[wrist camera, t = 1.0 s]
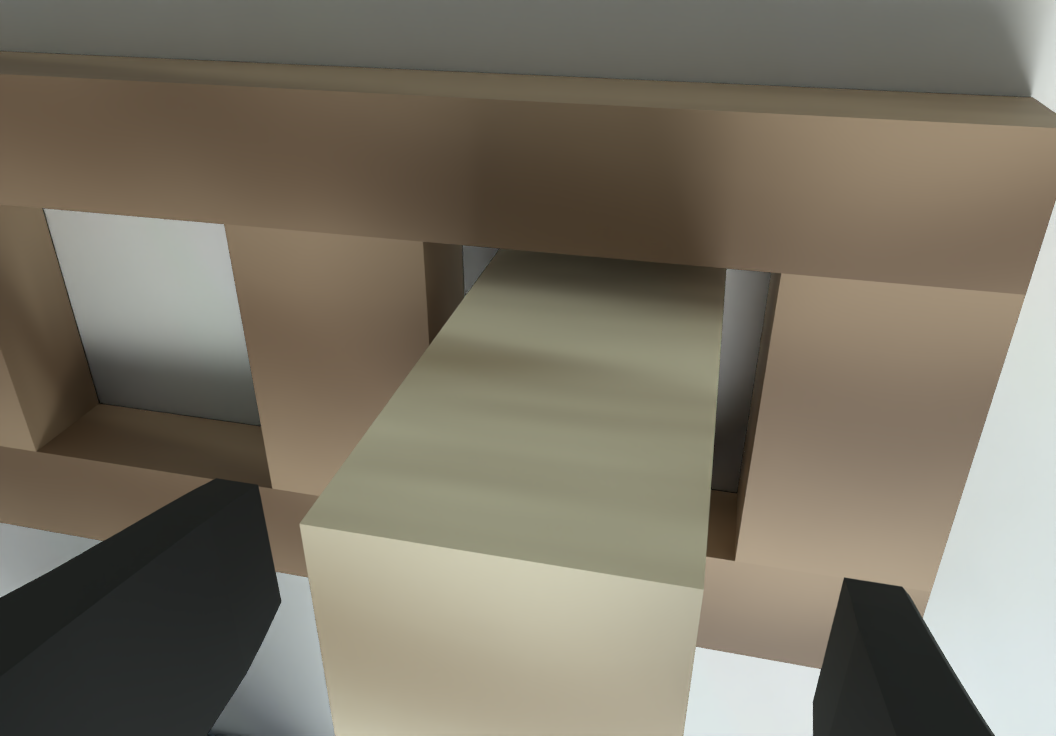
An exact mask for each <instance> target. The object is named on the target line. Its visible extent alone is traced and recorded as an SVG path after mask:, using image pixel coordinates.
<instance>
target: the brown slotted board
mask: <svg viewBox="0 0 1056 736" xmlns="http://www.w3.org/2000/svg"><path fill="white" fill-rule="evenodd" d="M1055 201H1056V113H1054V112H1053V111H1051V110H1050V109H1049V108H1047V107H1046V106H1044V105H1043V104H1041V103H1040V102H1039V101H1037V100H1036V99H1034V98H1033V97H1011V96H989V95H967V94H944V93H922V92H900V91H877V90H855V89H833V88H810V87H788V86H766V85H743V84H721V83H699V82H676V81H654V80H632V79H610V78H587V77H565V76H543V75H520V74H498V73H476V72H453V71H431V70H409V69H386V68H364V67H342V66H319V65H297V64H275V63H253V62H230V61H208V60H186V59H163V58H141V57H119V56H96V55H74V54H52V53H29V52H7V51H0V523H6V524H11V525H17V526H23V527H28V528H34V529H40V530H45V531H51V532H56V533H62V534H68V535H73V536H79V537H84V538H90V539H96V540H101V541H104V540H106V539H108V538H110V537H111V536H113V535H115V534H117V533H118V532H120V531H122V530H124V529H125V528H127V527H129V526H130V525H132V524H134V523H136V522H137V521H139V520H141V519H143V518H144V517H146V516H148V515H150V514H151V513H153V512H155V511H156V510H158V509H160V508H162V507H163V506H165V505H167V504H169V503H170V502H172V501H174V500H176V499H178V498H179V497H181V496H183V495H185V494H187V493H188V492H190V491H192V490H194V489H196V488H198V487H200V486H202V485H204V484H206V483H208V482H210V481H212V480H214V479H216V478H219V479H225V480H231V481H238V482H244V483H250V484H257V485H258V486H259V491H260V496H261V501H262V506H263V511H264V516H265V521H266V526H267V531H268V537H269V542H270V547H271V552H272V557H273V562H274V567H275V572H281V573H286V574H292V575H297V576H303V577H308V572H307V566H306V560H305V554H304V548H303V542H302V536H301V530H300V522H301V521H302V520H303V518H304V517H305V515H306V514H307V513H308V511H309V510H310V509H311V507H312V506H313V504H314V503H315V502H316V500H317V499H318V498H319V496H320V495H321V494H322V492H323V491H324V489H325V488H326V487H327V485H328V484H329V483H330V481H331V480H332V478H333V477H334V476H335V474H336V473H337V472H338V470H339V469H340V467H341V466H342V465H343V463H344V462H345V461H346V459H347V458H348V456H349V455H350V454H351V452H352V451H353V450H354V448H355V447H356V445H357V444H358V443H359V441H360V440H361V439H362V437H363V436H364V434H365V433H366V432H367V430H368V429H369V428H370V426H371V425H372V424H373V422H374V421H375V419H376V418H377V417H378V415H379V414H380V413H381V411H382V410H383V408H384V407H385V406H386V404H387V403H388V402H389V400H390V399H391V397H392V396H393V395H394V393H395V392H396V391H397V389H398V388H399V386H400V385H401V384H402V382H403V381H404V380H405V378H406V377H407V375H408V374H409V373H410V371H411V370H412V369H413V367H414V366H415V364H416V363H417V362H418V360H419V359H420V358H421V356H422V355H423V354H424V352H425V351H426V349H427V348H428V347H429V345H430V344H431V343H432V341H433V340H434V338H435V337H436V336H437V334H438V333H439V332H440V330H441V329H442V327H443V326H444V325H445V323H446V322H447V321H448V319H449V318H450V316H451V315H452V314H453V312H454V311H455V310H456V308H457V307H458V305H459V304H460V303H461V301H462V300H463V299H464V280H463V254H462V245H466V246H477V247H489V248H500V249H511V250H523V251H534V252H545V253H557V254H568V255H579V256H591V257H602V258H613V259H625V260H636V261H647V262H659V263H670V264H681V265H693V266H704V267H715V268H727V269H738V270H749V271H761V272H771V277H770V283H769V290H768V296H767V303H766V309H765V316H764V322H763V328H762V335H761V341H760V348H759V354H758V361H757V367H756V374H755V380H754V387H753V393H752V400H751V406H750V413H749V419H748V425H747V432H746V438H745V445H744V451H743V458H742V464H741V471H740V477H739V484H738V490H737V493H730V492H723V491H716V490H711V493H710V507H709V521H708V535H707V550H706V564H705V578H704V591H703V598H702V605H701V612H700V619H699V627H698V634H697V641H696V647H701V648H706V649H712V650H718V651H723V652H729V653H735V654H740V655H746V656H751V657H757V658H763V659H768V660H774V661H779V662H785V663H791V664H796V665H802V666H807V667H813V668H819V669H821V668H822V664H823V660H824V656H825V652H826V648H827V644H828V640H829V636H830V632H831V628H832V624H833V620H834V616H835V612H836V608H837V604H838V600H839V595H840V591H841V587H842V583H843V579H844V577H845V578H851V579H858V580H864V581H870V582H877V583H883V584H889V585H896V586H902V587H903V588H904V589H905V590H906V592H907V593H908V594H909V595H910V597H911V599H912V600H913V602H914V604H915V606H916V607H917V609H918V611H919V613H920V614H921V616H922V618H923V615H924V612H925V609H926V606H927V603H928V599H929V596H930V593H931V590H932V587H933V584H934V581H935V577H936V574H937V571H938V568H939V565H940V562H941V559H942V555H943V552H944V549H945V546H946V543H947V540H948V537H949V533H950V530H951V527H952V524H953V521H954V518H955V515H956V512H957V508H958V505H959V502H960V499H961V496H962V493H963V490H964V486H965V483H966V480H967V477H968V474H969V471H970V468H971V464H972V461H973V458H974V455H975V452H976V449H977V446H978V442H979V439H980V436H981V433H982V430H983V427H984V424H985V421H986V417H987V414H988V411H989V408H990V405H991V402H992V399H993V395H994V392H995V389H996V386H997V383H998V380H999V377H1000V373H1001V370H1002V367H1003V364H1004V361H1005V358H1006V355H1007V352H1008V348H1009V345H1010V342H1011V339H1012V336H1013V333H1014V330H1015V326H1016V323H1017V320H1018V317H1019V314H1020V311H1021V308H1022V304H1023V301H1024V298H1025V295H1026V292H1027V289H1028V286H1029V282H1030V279H1031V276H1032V273H1033V270H1034V267H1035V264H1036V261H1037V257H1038V254H1039V251H1040V248H1041V245H1042V242H1043V239H1044V235H1045V232H1046V229H1047V226H1048V223H1049V220H1050V217H1051V213H1052V210H1053V207H1054V204H1055ZM42 208H47V209H58V210H69V211H81V212H92V213H103V214H115V215H126V216H137V217H149V218H160V219H171V220H183V221H194V222H205V223H217V224H224V226H225V231H226V237H227V242H228V248H229V253H230V259H231V264H232V270H233V275H234V281H235V286H236V292H237V297H238V303H239V308H240V314H241V319H242V324H243V330H244V335H245V341H246V346H247V352H248V357H249V363H250V368H251V374H252V379H253V385H254V390H255V396H256V401H257V406H258V412H259V417H260V423H261V426H255V425H247V424H240V423H233V422H226V421H219V420H212V419H205V418H198V417H191V416H183V415H176V414H169V413H162V412H155V411H148V410H141V409H134V408H127V407H120V406H112V405H105V404H99V402H98V398H97V395H96V391H95V388H94V384H93V381H92V377H91V374H90V371H89V367H88V364H87V360H86V357H85V353H84V350H83V346H82V343H81V340H80V336H79V333H78V329H77V326H76V322H75V319H74V316H73V312H72V309H71V305H70V302H69V298H68V295H67V291H66V288H65V285H64V281H63V278H62V274H61V271H60V267H59V264H58V261H57V257H56V254H55V250H54V247H53V243H52V240H51V236H50V233H49V230H48V226H47V223H46V219H45V216H44V212H43V209H42Z"/></svg>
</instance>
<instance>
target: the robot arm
mask: <svg viewBox="0 0 1056 736" xmlns="http://www.w3.org/2000/svg"><path fill="white" fill-rule="evenodd" d="M280 604H281V598H280V593H279V587H278V582H277V577H276V572H275V567H274V562H273V557H272V552H271V547H270V542H269V537H268V531H267V526H266V521H265V516H264V511H263V506H262V501H261V496H260V491H259V486H258V485H257V484H250V483H244V482H238V481H231V480H225V479H219V478H216V479H214V480H212V481H210V482H208V483H206V484H204V485H202V486H200V487H198V488H196V489H194V490H192V491H190V492H188V493H187V494H185V495H183V496H181V497H179V498H178V499H176V500H174V501H172V502H170V503H169V504H167V505H165V506H163V507H162V508H160V509H158V510H156V511H155V512H153V513H151V514H150V515H148V516H146V517H144V518H143V519H141V520H139V521H137V522H136V523H134V524H132V525H130V526H129V527H127V528H125V529H124V530H122V531H120V532H118V533H117V534H115V535H113V536H111V537H110V538H108V539H106V540H104V541H103V542H101V543H99V544H97V545H96V546H94V547H92V548H90V549H89V550H87V551H85V552H83V553H82V554H80V555H78V556H76V557H75V558H73V559H71V560H69V561H68V562H66V563H64V564H62V565H61V566H59V567H57V568H55V569H53V570H52V571H50V572H48V573H46V574H44V575H43V576H41V577H39V578H37V579H35V580H33V581H31V582H29V583H27V584H26V585H24V586H22V587H20V588H18V589H16V590H14V591H12V592H10V593H8V594H7V595H5V596H3V597H1V598H0V736H206V735H207V734H208V732H209V731H210V729H211V728H212V726H213V725H214V723H215V722H216V720H217V719H218V717H219V715H220V714H221V712H222V711H223V709H224V708H225V706H226V705H227V703H228V702H229V700H230V699H231V697H232V695H233V694H234V692H235V691H236V689H237V688H238V686H239V684H240V683H241V681H242V680H243V678H244V677H245V675H246V673H247V671H248V669H249V668H250V666H251V664H252V662H253V660H254V658H255V656H256V654H257V652H258V650H259V648H260V646H261V644H262V642H263V640H264V638H265V636H266V634H267V631H268V629H269V627H270V625H271V623H272V621H273V619H274V616H275V614H276V612H277V610H278V608H279V606H280ZM813 736H995V735H994V734H993V732H992V731H991V729H990V728H989V726H988V725H987V723H986V722H985V720H984V719H983V717H982V716H981V714H980V712H979V711H978V709H977V708H976V706H975V705H974V703H973V701H972V700H971V698H970V697H969V695H968V693H967V692H966V690H965V689H964V687H963V685H962V684H961V682H960V680H959V679H958V677H957V675H956V674H955V672H954V671H953V669H952V667H951V666H950V664H949V662H948V661H947V659H946V657H945V656H944V654H943V652H942V651H941V649H940V647H939V646H938V644H937V642H936V640H935V639H934V637H933V635H932V634H931V632H930V630H929V628H928V627H927V625H926V623H925V621H924V620H923V618H922V616H921V614H920V613H919V611H918V609H917V607H916V606H915V604H914V602H913V600H912V599H911V597H910V595H909V594H908V593H907V592H906V590H905V589H904V588H903V587H902V586H896V585H889V584H883V583H877V582H870V581H864V580H858V579H851V578H845V577H844V579H843V583H842V587H841V591H840V595H839V600H838V604H837V608H836V612H835V616H834V620H833V624H832V628H831V632H830V636H829V640H828V644H827V648H826V652H825V656H824V660H823V664H822V668H821V672H820V676H819V680H818V684H817V688H816V692H815V696H814V700H813Z"/></svg>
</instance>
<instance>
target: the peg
mask: <svg viewBox="0 0 1056 736" xmlns="http://www.w3.org/2000/svg"><path fill="white" fill-rule="evenodd" d="M725 281H726V268H715V267H704V266H693V265H681V264H670V263H659V262H647V261H636V260H625V259H613V258H602V257H591V256H579V255H568V254H557V253H545V252H534V251H523V250H511V249H499V251H498V252H497V253H496V255H495V256H494V257H493V259H492V260H491V262H490V263H489V264H488V266H487V267H486V268H485V270H484V271H483V273H482V274H481V275H480V277H479V278H478V279H477V281H476V282H475V284H474V285H473V286H472V288H471V289H470V290H469V292H468V293H467V294H466V296H465V297H464V299H463V300H462V301H461V303H460V304H459V305H458V307H457V308H456V310H455V311H454V312H453V314H452V315H451V316H450V318H449V319H448V321H447V322H446V323H445V325H444V326H443V327H442V329H441V330H440V332H439V333H438V334H437V336H436V337H435V338H434V340H433V341H432V343H431V344H430V345H429V347H428V348H427V349H426V351H425V352H424V354H423V355H422V356H421V358H420V359H419V360H418V362H417V363H416V364H415V366H414V367H413V369H412V370H411V371H410V373H409V374H408V375H407V377H406V378H405V380H404V381H403V382H402V384H401V385H400V386H399V388H398V389H397V391H396V392H395V393H394V395H393V396H392V397H391V399H390V400H389V402H388V403H387V404H386V406H385V407H384V408H383V410H382V411H381V413H380V414H379V415H378V417H377V418H376V419H375V421H374V422H373V424H372V425H371V426H370V428H369V429H368V430H367V432H366V433H365V434H364V436H363V437H362V439H361V440H360V441H359V443H358V444H357V445H356V447H355V448H354V450H353V451H352V452H351V454H350V455H349V456H348V458H347V459H346V461H345V462H344V463H343V465H342V466H341V467H340V469H339V470H338V472H337V473H336V474H335V476H334V477H333V478H332V480H331V481H330V483H329V484H328V485H327V487H326V488H325V489H324V491H323V492H322V494H321V495H320V496H319V498H318V499H317V500H316V502H315V503H314V504H313V506H312V507H311V509H310V510H309V511H308V513H307V514H306V515H305V517H304V518H303V520H302V521H301V522H300V530H301V536H302V542H303V548H304V554H305V560H306V566H307V572H308V578H309V584H310V590H311V596H312V602H313V608H314V614H315V620H316V626H317V632H318V638H319V643H320V649H321V655H322V661H323V667H324V673H325V679H326V685H327V691H328V697H329V703H330V709H331V715H332V721H333V727H334V733H335V736H683V733H684V726H685V719H686V712H687V705H688V698H689V691H690V684H691V676H692V669H693V662H694V655H695V648H696V641H697V634H698V627H699V619H700V612H701V605H702V598H703V591H704V578H705V564H706V550H707V535H708V521H709V507H710V493H711V479H712V465H713V451H714V437H715V422H716V408H717V394H718V380H719V366H720V352H721V338H722V323H723V309H724V295H725Z"/></svg>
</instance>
